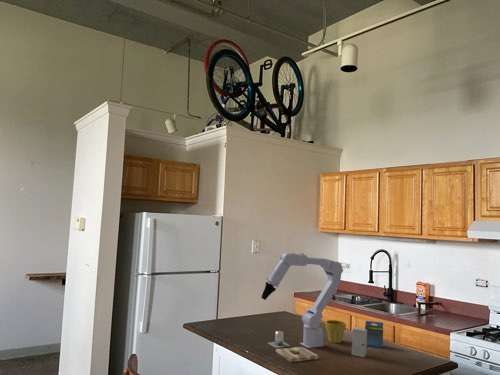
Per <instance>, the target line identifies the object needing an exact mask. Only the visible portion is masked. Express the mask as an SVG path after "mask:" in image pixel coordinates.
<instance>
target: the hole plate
mask: <svg viewBox="0 0 500 375" xmlns="http://www.w3.org/2000/svg"><path fill="white" fill-rule="evenodd" d="M275 352H276V353H277V354H278V355H280V356H282V357H283V358H284V359H285V360H286V361H288V362H290V363H293V362H302V361H311V360H313V359H314V360H319V354H317V353H314V352H312V351H311V350H308V349H307V348H305V347H303V346H296V347H283V348H275ZM297 353H299V354H297Z"/></svg>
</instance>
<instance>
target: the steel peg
mask: <svg viewBox="0 0 500 375" xmlns="http://www.w3.org/2000/svg"><path fill="white" fill-rule="evenodd" d="M274 334H275V335H274V342H275V345H279V346H281V345H283V342H284V331H282V330H276V331H275V332H274Z"/></svg>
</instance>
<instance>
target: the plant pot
mask: <svg viewBox="0 0 500 375" xmlns="http://www.w3.org/2000/svg"><path fill="white" fill-rule="evenodd" d="M346 326H347V323H346V322H345V321H343V320H342V321H341V320H338V319H328V320H326V321H325V329H326V331H327V332H326V333H327V338H328V342H330V343H332V344H340V343H342V341H343V337H344V334H345V331H346V330H347V328H346Z"/></svg>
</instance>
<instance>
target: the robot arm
mask: <svg viewBox="0 0 500 375" xmlns="http://www.w3.org/2000/svg"><path fill="white" fill-rule="evenodd" d="M307 265H315V266H320V267H321V268H322V269H323V271H324V272H325V274H326V276H327V279H328V281H327V282H326V284H325V286H324V287H323V289H322V290H321V292H320V293H319V295H318V297H317V298H316V301H314V303H313V304H312V306H311V307H308V309H307V310H306V311H305V312H303V314H302V315H301V322H302V323H303V335H302V336H303V339H302V340H303V342H299V344H300V345H302V346H304V347H306V349H307V348H310V349H311V348H318V347H325V345H324V330H323V328H322V327H321V326H320V325H321V324H322V322H321V321H322V319H323V317H324V316H323V312H324V310H325V308H326V307H327V305H328V303H329V302H330V300H331V299H332V297H333V295H334V293H335V292H336V290H337V289H338V287H339V285H340V283H341V279H342V273H343V272H344V269H343V265H342V263H341V262H339V261H336V260H335V261H334V260H332V259H327V258H321V257H309V256H308V255H307V254H305V253H303V252H301V253H295V252H291V253H288V252H284V253H283V254H281V255H280V257H279V262H278V264H277V265H276V266H275V267H274V270H273V271H272V273H271V274H270V276H269V277H266V278H265V280H267V281H266V282H265V286H264V289H263V292H262V294H261V299H263V300H264V301H266V300H268V297H270V296H271V295H272V294H273V293H274V292H275V291H276V290H277V288H278V287H279V285H280V284H281V282H282V280H283V279H284V277H285V275H286V274H287V272H288V270H289V269H290V267H291V266H295V267H296V266H298V267H306V266H307ZM275 287H276V288H275Z"/></svg>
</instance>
